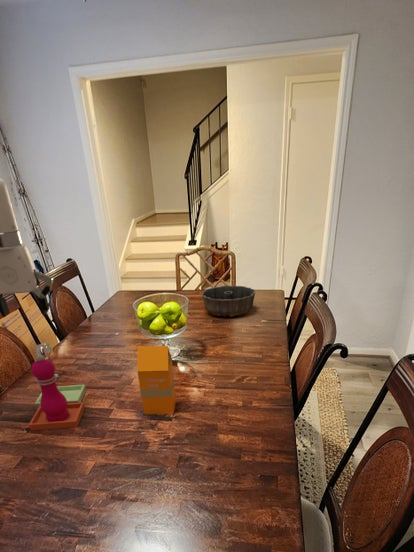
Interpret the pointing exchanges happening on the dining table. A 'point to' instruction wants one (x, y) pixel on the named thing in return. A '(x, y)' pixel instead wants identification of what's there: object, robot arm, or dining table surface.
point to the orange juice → (156, 379)
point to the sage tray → (68, 394)
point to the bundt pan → (228, 300)
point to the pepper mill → (49, 390)
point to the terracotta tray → (73, 420)
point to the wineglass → (45, 352)
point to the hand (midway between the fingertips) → (25, 314)
